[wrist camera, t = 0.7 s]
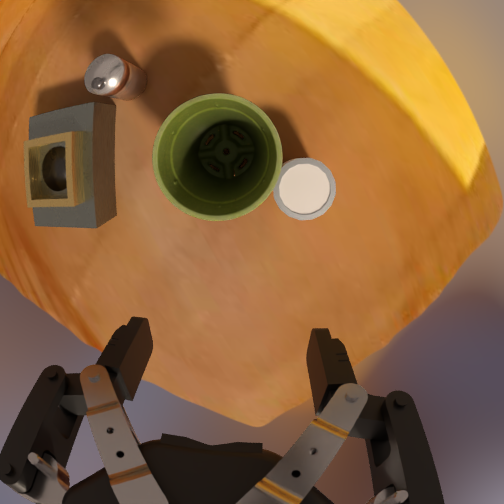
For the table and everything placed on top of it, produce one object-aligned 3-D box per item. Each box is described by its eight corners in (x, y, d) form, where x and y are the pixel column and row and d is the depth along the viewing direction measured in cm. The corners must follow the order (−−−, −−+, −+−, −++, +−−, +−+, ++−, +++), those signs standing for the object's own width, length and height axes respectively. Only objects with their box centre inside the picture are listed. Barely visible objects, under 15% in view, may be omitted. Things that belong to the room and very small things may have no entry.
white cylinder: (272, 151, 34) (276, 153, 27) (325, 158, 34) (340, 162, 28) (266, 203, 36) (269, 217, 30) (317, 208, 37) (330, 224, 30)
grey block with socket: (53, 117, 31) (18, 118, 23) (116, 105, 31) (83, 100, 23) (57, 217, 37) (25, 235, 29) (116, 218, 37) (87, 238, 30)
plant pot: (177, 190, 36) (146, 211, 26) (190, 102, 31) (162, 88, 21) (264, 204, 37) (268, 231, 26) (282, 116, 32) (294, 105, 22)
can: (116, 69, 29) (82, 56, 21) (148, 64, 29) (120, 47, 21) (113, 102, 31) (77, 97, 23) (145, 99, 31) (115, 90, 23)
